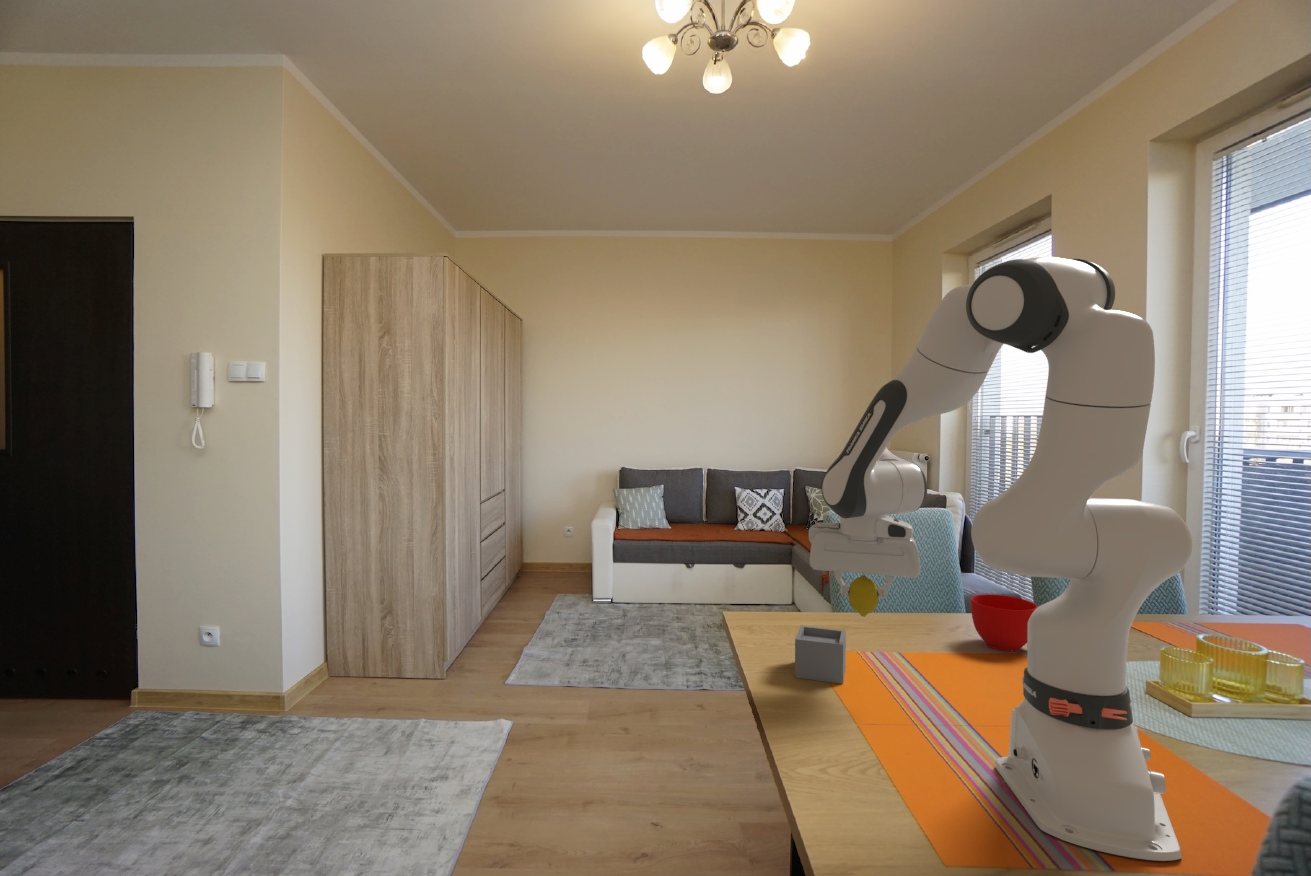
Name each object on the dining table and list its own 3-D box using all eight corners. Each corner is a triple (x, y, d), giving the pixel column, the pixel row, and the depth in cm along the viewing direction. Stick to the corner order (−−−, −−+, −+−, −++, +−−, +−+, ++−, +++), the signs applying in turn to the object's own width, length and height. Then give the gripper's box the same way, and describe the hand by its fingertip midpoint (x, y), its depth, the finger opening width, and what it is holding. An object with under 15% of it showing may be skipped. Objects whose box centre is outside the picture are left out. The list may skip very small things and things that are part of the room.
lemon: (882, 616, 116) (883, 575, 116) (871, 622, 112) (871, 579, 112) (855, 611, 120) (855, 571, 120) (843, 616, 116) (843, 575, 116)
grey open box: (843, 684, 114) (843, 644, 114) (794, 677, 117) (795, 639, 117) (845, 666, 123) (845, 630, 123) (800, 661, 126) (800, 625, 126)
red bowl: (1066, 662, 125) (1066, 614, 125) (976, 652, 131) (976, 607, 131) (1047, 642, 138) (1048, 598, 138) (966, 634, 143) (966, 592, 143)
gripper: (806, 524, 117) (806, 594, 117) (921, 530, 109) (921, 605, 110) (810, 519, 123) (810, 587, 123) (919, 525, 115) (919, 596, 116)
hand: (863, 595), depth 116 cm, fingers closed on lemon, 5 cm apart
